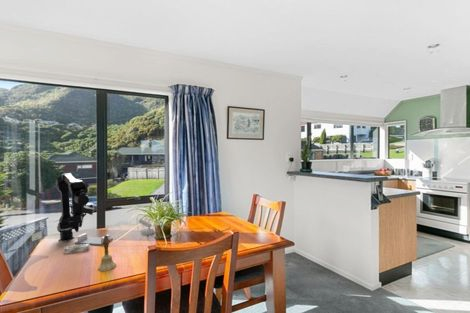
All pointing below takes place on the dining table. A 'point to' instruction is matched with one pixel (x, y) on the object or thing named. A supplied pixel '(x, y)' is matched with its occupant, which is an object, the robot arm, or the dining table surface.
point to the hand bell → (106, 258)
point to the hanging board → (91, 240)
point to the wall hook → (148, 228)
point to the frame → (76, 248)
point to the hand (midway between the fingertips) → (78, 229)
